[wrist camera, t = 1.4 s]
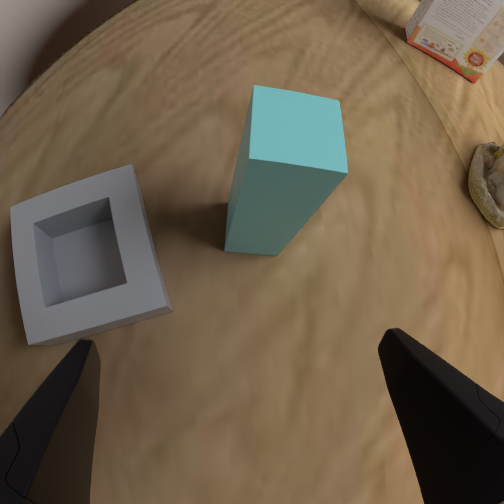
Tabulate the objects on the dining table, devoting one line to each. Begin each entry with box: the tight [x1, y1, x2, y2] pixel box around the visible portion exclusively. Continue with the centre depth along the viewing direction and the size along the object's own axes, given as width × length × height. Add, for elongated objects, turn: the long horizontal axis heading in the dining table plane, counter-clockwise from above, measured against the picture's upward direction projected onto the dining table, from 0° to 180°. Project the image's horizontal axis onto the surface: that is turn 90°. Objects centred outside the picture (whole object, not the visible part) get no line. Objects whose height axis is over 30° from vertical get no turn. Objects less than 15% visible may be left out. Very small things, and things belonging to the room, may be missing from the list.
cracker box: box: [405, 0, 504, 83], centre depth 28 cm, size 14×6×21 cm, turn 74°
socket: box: [10, 164, 173, 345], centre depth 20 cm, size 10×10×4 cm
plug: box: [224, 85, 348, 256], centre depth 19 cm, size 4×4×13 cm
